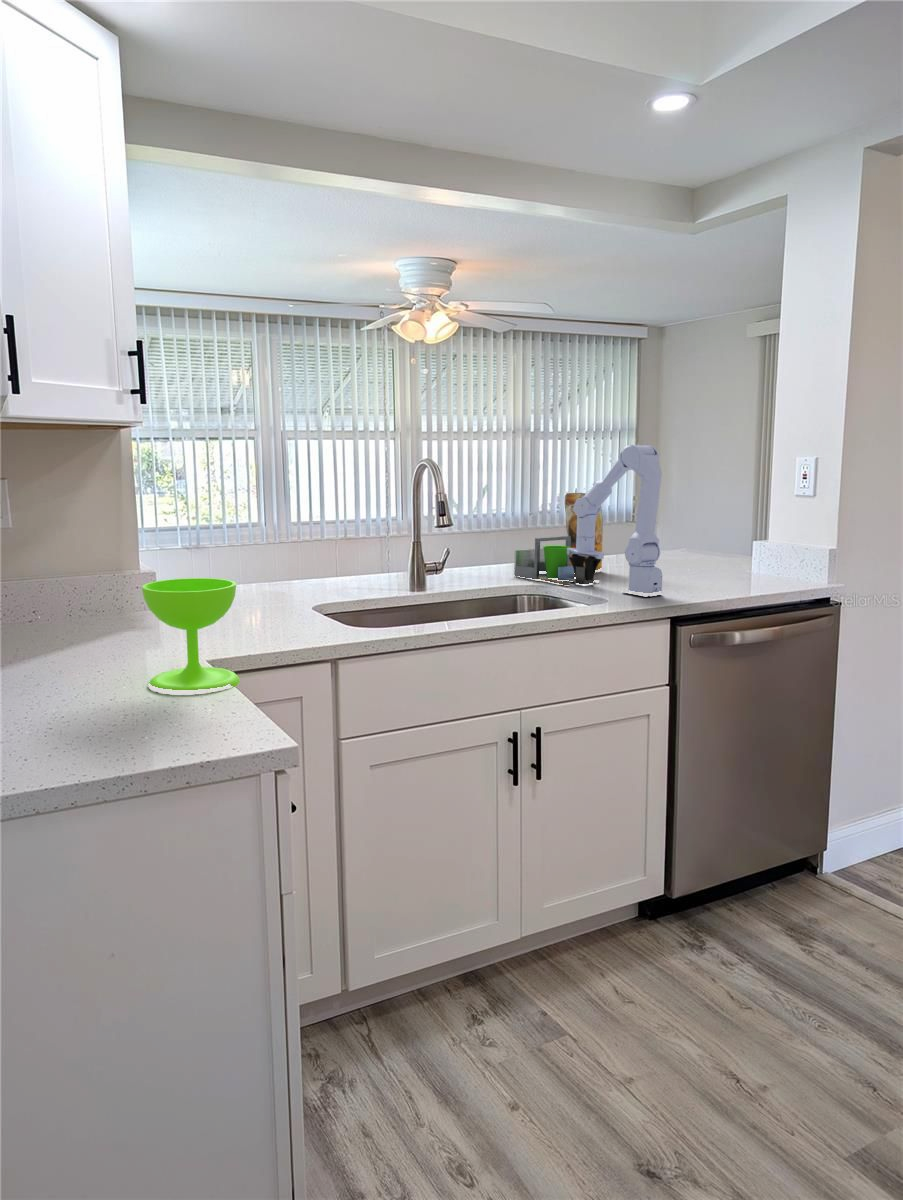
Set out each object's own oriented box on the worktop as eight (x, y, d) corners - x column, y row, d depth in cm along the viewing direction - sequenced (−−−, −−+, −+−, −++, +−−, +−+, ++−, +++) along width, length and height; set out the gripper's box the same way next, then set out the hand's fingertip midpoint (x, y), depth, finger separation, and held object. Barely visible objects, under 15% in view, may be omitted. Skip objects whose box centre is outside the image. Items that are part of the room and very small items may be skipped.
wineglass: (129, 684, 150) (123, 585, 147) (204, 667, 162) (200, 575, 159) (182, 701, 140) (177, 595, 137) (258, 681, 153) (255, 584, 150)
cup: (570, 582, 274) (571, 548, 272) (542, 581, 274) (543, 548, 272) (567, 577, 282) (568, 545, 281) (540, 577, 283) (541, 545, 281)
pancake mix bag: (555, 573, 292) (558, 492, 287) (595, 570, 302) (599, 491, 297) (568, 576, 286) (571, 493, 281) (609, 572, 297) (612, 492, 292)
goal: (569, 577, 283) (570, 536, 281) (536, 581, 275) (537, 538, 272) (546, 573, 292) (548, 533, 290) (514, 576, 284) (515, 535, 281)
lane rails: (599, 583, 271) (599, 579, 271) (567, 587, 263) (567, 583, 263) (567, 577, 283) (567, 574, 283) (536, 580, 275) (536, 577, 275)
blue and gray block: (595, 585, 267) (596, 566, 266) (581, 586, 264) (582, 568, 263) (571, 580, 276) (571, 562, 275) (557, 582, 273) (558, 563, 272)
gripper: (560, 535, 268) (559, 577, 271) (593, 539, 257) (591, 583, 259) (576, 534, 272) (575, 575, 275) (609, 538, 261) (607, 581, 263)
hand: (584, 579), depth 267 cm, fingers open, 4 cm apart
